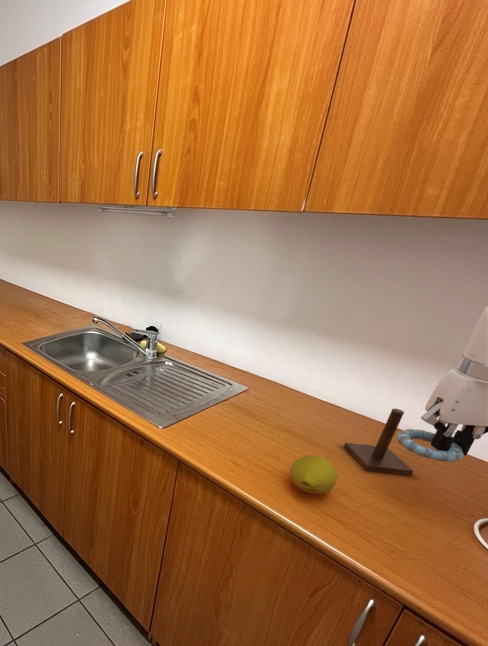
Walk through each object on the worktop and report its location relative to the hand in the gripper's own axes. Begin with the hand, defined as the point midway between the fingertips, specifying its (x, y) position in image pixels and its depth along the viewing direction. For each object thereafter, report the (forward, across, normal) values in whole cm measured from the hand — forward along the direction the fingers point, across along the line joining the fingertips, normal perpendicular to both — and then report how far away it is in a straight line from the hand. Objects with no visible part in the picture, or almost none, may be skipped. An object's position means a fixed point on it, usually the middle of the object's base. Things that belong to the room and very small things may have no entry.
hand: (447, 449), depth 80 cm
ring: (-1, +3, 0) cm, 3 cm away
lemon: (+13, +22, +1) cm, 26 cm away
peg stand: (+13, +1, -13) cm, 19 cm away
